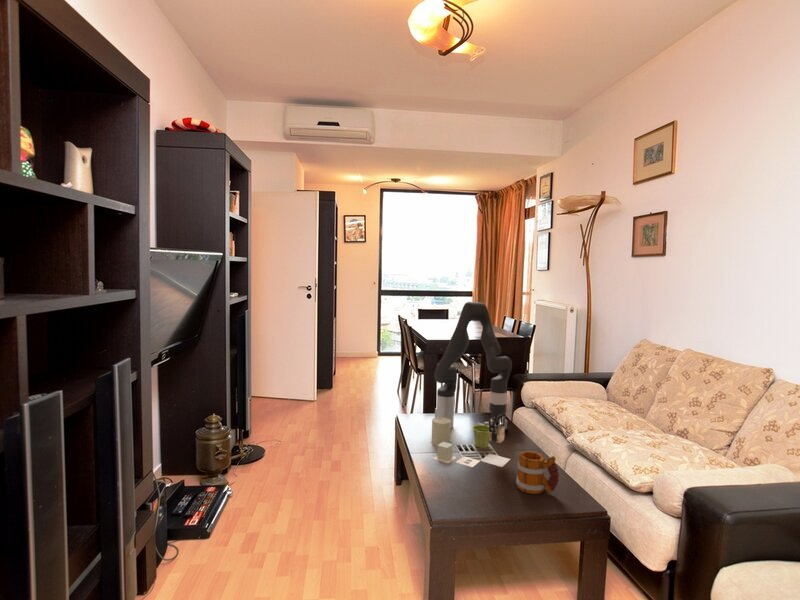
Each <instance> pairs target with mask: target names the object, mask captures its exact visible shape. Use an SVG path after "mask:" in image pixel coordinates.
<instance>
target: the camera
mask: <svg viewBox="0 0 800 600" xmlns="http://www.w3.org/2000/svg"><path fill="white" fill-rule="evenodd" d="M476 425H485V426H489V421H484V422H483V423H481V422H476ZM504 426H505V430H508V419H506V418H505V425H504Z"/></svg>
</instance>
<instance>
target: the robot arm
mask: <svg viewBox="0 0 800 600" xmlns="http://www.w3.org/2000/svg"><path fill="white" fill-rule="evenodd" d="M471 322H479V323H480V324H481V327H482V330H481V334H480V342H481V344H482V348H483V350H484V352H485V356H486V366H487V367H486V368H487V369H488V370H489V371H490V372H491V373H493V374H497V373H498V375H497V376H494V377H492V378H491V380H490V391H489V407H488V411H489V413H491V414H492V416H491V418H490V419H489V420H488V422H489V432H492V441H491V442H493V441H494V443H497V442H496V441H497V429H498V428H499V425H500V426H504V425H505V419H506V415H507V414H506V413H507V412H508V411H507V410H508V409H507V408H508V407H507V406H508V392H507V391H508V381H509V378H510V375H511V372H512V369H513V362H512V360H511V358H510V357H508V356H506V355H504V356H498V355H500V354H501V352H502V348H501V346H500V343H499V341H498V339H497V337H496V334H495V332H494V329H493V325H492V320H491V317H490V313H489V310H488V307H487V306H486V304H485V303H484V302H480V301H467V302H465V303H464V304H463V306H462V308H461V312H460V315H459V318H458V321H457V325H456V327H455V328H454V331H453V333H452V336H451V337H450V340H449V342H448V345H447V347H446V349H445V351H444V353H443V355H442V357H441V358H440V361H439V362H438V364H437V366H436V367H435V370H434V374H433V375H434V376H433V377H434V380H435V382H437V383H438V384H442V386H440V387H439V388H438V389H437V391H436V407H435V409H434V418H436V417H444V418H448V419H450V420H451V427H450V430H451V429H453V428H454V419H455V418H454V416H455V393H456V390H457V382H458V372H457V368H456V367H455V365H453V364H454V363H455V362H457V361H458V360H459V359H460V358H461V357H463V355H465V352H466V350H467V348H468V347H469V344H470V338H469V332H468V326H469V325H470V323H471ZM495 425H497V426H495Z"/></svg>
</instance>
